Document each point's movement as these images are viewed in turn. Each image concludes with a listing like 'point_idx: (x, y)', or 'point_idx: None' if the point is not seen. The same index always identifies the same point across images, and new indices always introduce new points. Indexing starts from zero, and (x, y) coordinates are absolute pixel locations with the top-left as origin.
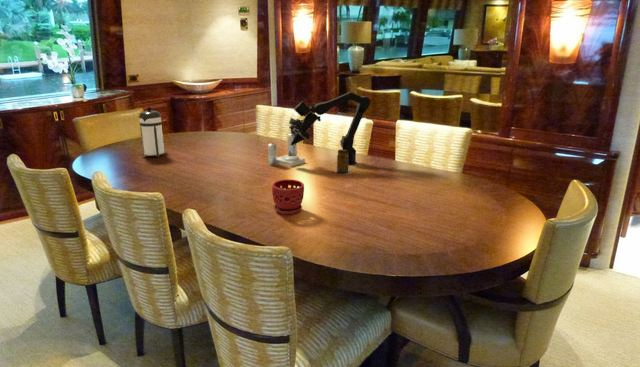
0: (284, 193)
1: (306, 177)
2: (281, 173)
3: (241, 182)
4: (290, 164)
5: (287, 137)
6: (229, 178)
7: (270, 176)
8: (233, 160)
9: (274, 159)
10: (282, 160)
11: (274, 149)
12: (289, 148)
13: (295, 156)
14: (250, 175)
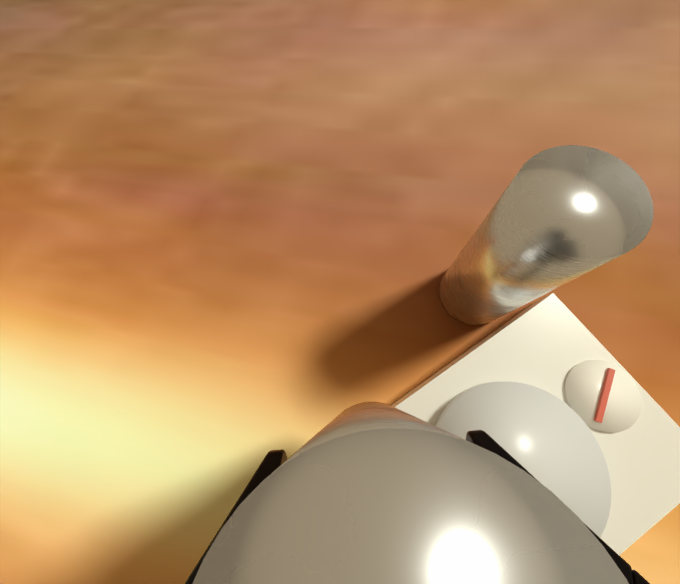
0: None
1: (53, 462)
2: (226, 308)
3: (156, 89)
4: None
5: (393, 417)
6: (246, 47)
7: (191, 231)
8: (637, 71)
9: (454, 285)
10: (478, 366)
11: (493, 249)
12: (332, 420)
13: None
14: (258, 134)
